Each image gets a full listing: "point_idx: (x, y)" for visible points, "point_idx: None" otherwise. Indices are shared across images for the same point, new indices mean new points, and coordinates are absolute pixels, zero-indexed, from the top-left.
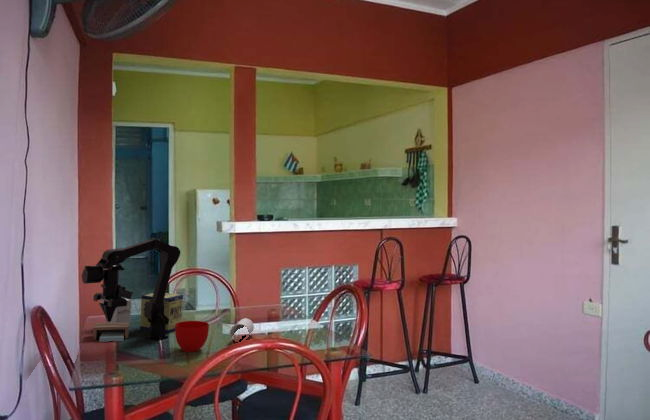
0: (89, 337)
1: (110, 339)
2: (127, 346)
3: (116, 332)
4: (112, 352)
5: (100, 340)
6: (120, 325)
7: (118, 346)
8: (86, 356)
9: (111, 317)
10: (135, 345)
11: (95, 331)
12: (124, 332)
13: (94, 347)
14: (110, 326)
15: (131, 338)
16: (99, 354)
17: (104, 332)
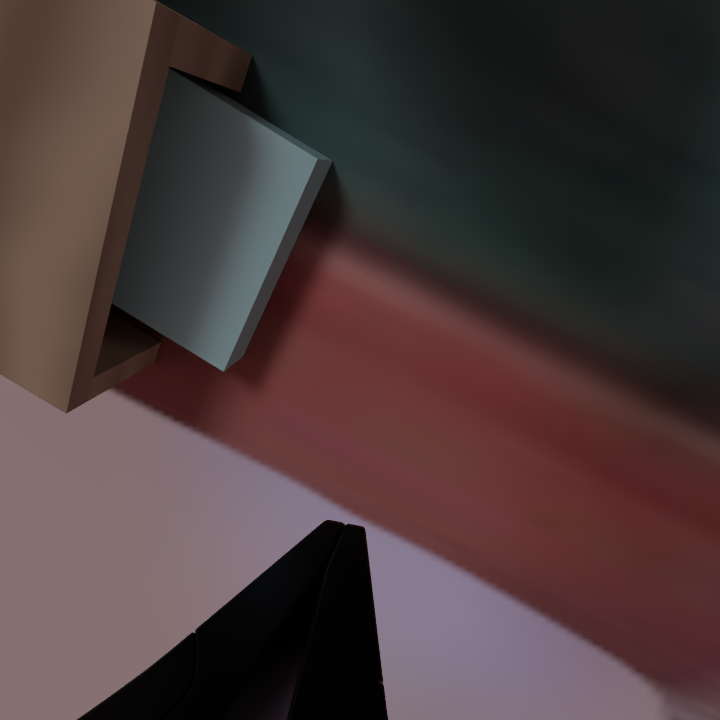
0: None
1: (270, 282)
2: (580, 233)
3: None
4: (668, 454)
5: (239, 355)
6: (50, 91)
7: (504, 307)
8: (598, 622)
9: (371, 599)
10: (616, 128)
11: (104, 378)
12: None
13: (389, 466)
14: (67, 242)
15: (268, 8)
16: (629, 548)
17: None
